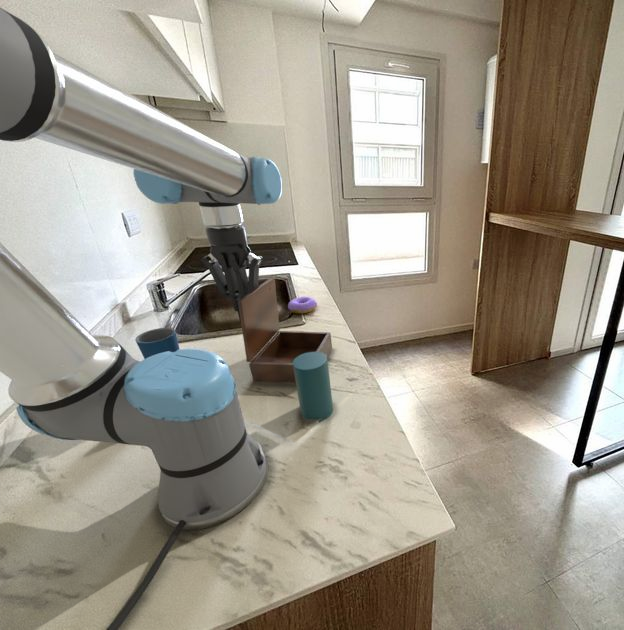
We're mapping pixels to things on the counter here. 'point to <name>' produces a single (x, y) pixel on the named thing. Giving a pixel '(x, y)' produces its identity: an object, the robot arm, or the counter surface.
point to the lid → (259, 317)
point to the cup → (157, 341)
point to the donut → (302, 305)
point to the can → (313, 385)
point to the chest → (287, 354)
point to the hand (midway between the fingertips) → (246, 322)
